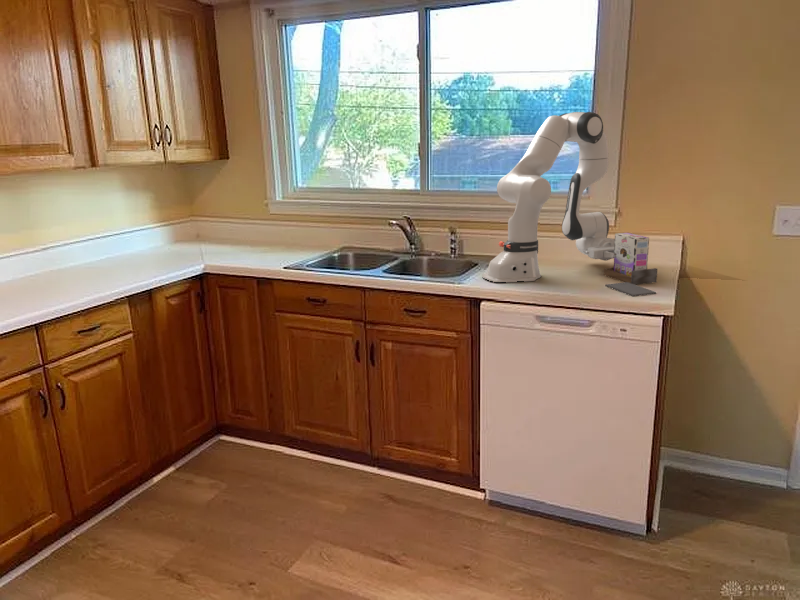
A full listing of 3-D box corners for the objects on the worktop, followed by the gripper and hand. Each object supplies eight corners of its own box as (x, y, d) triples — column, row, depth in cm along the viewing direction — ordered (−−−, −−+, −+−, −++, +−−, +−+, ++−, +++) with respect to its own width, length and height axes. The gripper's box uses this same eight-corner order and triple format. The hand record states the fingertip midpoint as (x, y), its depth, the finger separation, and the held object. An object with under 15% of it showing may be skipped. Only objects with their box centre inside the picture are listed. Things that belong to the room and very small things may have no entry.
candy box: (647, 282, 226) (650, 237, 222) (632, 283, 225) (635, 238, 221) (626, 274, 239) (628, 231, 235) (612, 275, 238) (614, 232, 234)
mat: (632, 296, 208) (632, 294, 208) (605, 286, 223) (605, 284, 222) (656, 293, 210) (656, 292, 210) (627, 283, 225) (627, 282, 225)
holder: (632, 285, 223) (633, 271, 221) (603, 275, 239) (604, 262, 238) (656, 282, 225) (657, 268, 224) (626, 272, 242) (627, 259, 241)
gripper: (581, 243, 242) (601, 248, 229) (627, 239, 248) (649, 244, 235) (580, 259, 244) (601, 265, 231) (626, 254, 249) (648, 260, 236)
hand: (625, 254), depth 233 cm, fingers open, 8 cm apart
